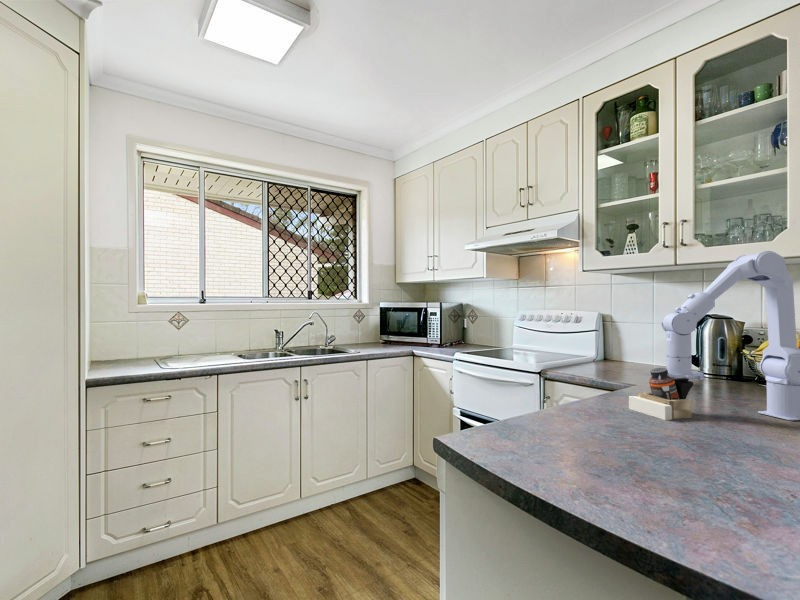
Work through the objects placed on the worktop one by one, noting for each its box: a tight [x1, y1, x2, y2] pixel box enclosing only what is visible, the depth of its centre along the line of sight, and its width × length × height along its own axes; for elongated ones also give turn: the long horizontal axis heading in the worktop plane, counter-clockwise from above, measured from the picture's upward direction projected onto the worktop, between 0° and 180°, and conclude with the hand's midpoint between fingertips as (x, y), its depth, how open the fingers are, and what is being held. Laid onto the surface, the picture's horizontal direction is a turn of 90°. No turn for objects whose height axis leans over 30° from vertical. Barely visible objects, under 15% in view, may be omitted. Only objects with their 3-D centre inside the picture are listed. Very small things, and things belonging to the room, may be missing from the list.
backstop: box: [628, 395, 673, 421], centre depth 110 cm, size 2×12×4 cm, turn 13°
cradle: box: [636, 392, 692, 420], centre depth 111 cm, size 7×10×4 cm
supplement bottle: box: [648, 367, 679, 400], centre depth 111 cm, size 6×6×11 cm
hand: (679, 406), depth 112 cm, fingers closed, pressing on supplement bottle
